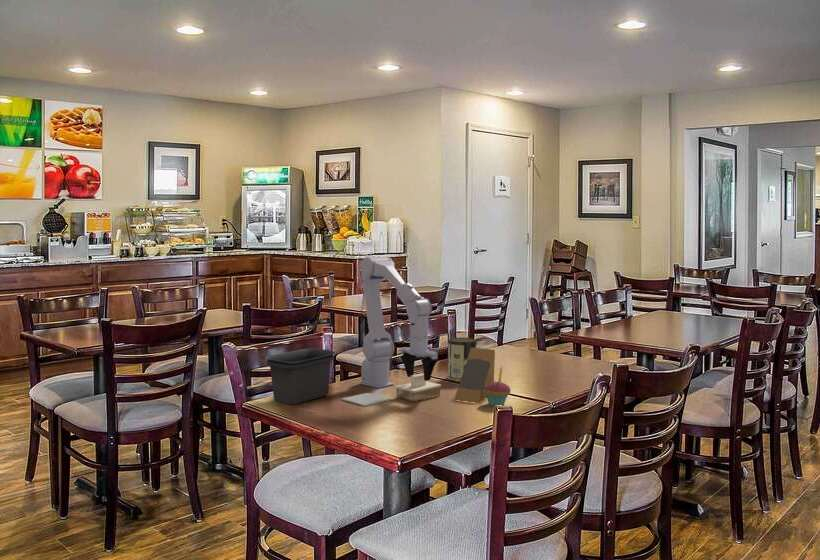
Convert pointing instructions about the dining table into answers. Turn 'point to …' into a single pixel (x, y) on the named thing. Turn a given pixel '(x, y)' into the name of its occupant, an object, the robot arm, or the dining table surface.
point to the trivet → (366, 399)
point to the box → (417, 394)
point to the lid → (418, 384)
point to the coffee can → (458, 356)
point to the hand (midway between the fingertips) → (418, 378)
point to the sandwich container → (476, 375)
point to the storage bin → (300, 374)
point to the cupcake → (496, 391)
